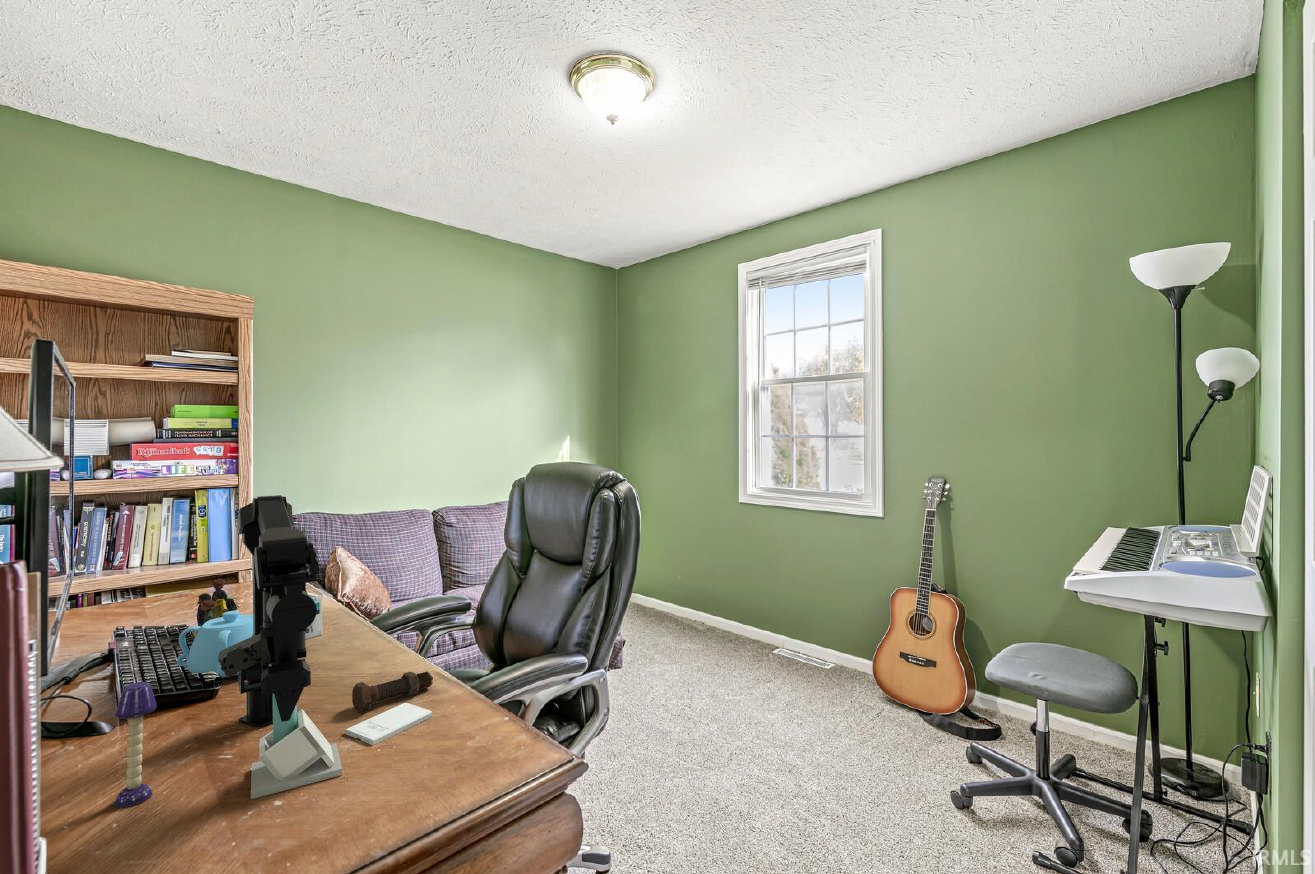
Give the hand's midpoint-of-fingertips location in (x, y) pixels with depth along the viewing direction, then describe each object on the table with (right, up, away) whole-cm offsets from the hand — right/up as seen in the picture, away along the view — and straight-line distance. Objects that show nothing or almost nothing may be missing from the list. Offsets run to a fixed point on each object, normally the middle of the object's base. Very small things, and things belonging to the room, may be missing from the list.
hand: (285, 716), depth 97 cm
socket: (+2, -9, +1) cm, 9 cm away
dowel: (0, -4, 0) cm, 4 cm away
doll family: (-61, -9, +70) cm, 94 cm away
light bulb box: (-37, -9, +68) cm, 78 cm away
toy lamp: (-18, -10, -6) cm, 21 cm away
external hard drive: (+9, -10, +17) cm, 21 cm away
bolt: (+5, -10, +28) cm, 30 cm away
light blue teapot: (-38, -9, +43) cm, 58 cm away
